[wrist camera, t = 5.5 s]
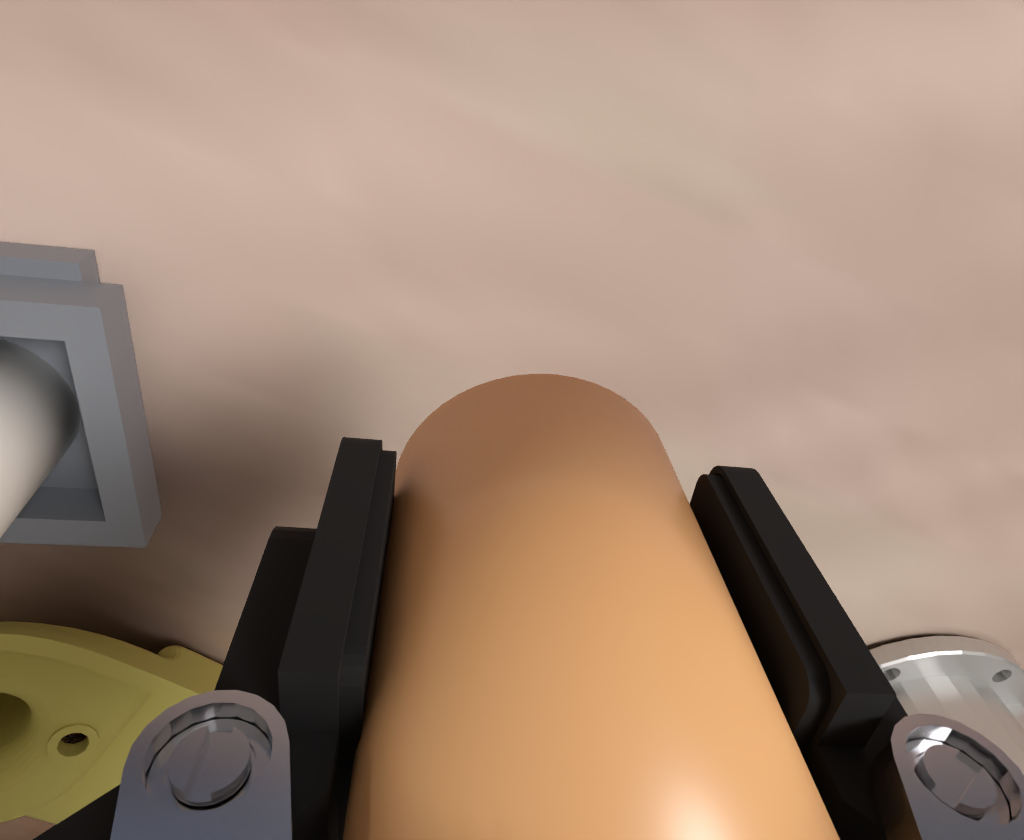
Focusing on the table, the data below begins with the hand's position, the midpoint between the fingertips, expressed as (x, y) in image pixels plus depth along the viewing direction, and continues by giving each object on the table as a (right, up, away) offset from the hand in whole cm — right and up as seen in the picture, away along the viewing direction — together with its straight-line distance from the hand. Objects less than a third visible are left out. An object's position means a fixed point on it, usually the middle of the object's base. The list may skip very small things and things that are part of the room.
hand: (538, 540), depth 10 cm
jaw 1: (0, +1, +1) cm, 1 cm away
